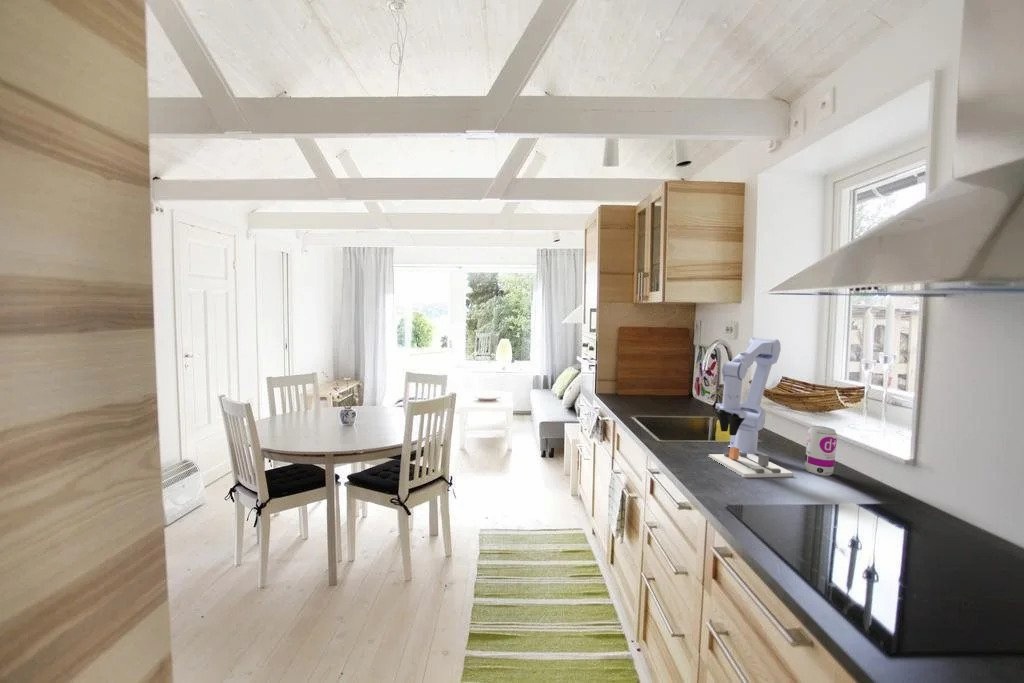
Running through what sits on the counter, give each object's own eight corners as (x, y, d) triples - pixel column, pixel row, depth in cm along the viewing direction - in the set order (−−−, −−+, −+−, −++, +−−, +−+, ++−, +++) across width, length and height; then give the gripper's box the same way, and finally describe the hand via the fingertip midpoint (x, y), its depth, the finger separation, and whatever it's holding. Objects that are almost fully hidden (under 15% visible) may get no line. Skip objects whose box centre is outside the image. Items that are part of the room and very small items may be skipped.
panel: (708, 457, 168) (708, 451, 167) (752, 457, 171) (753, 450, 171) (743, 477, 149) (744, 470, 149) (792, 476, 152) (793, 469, 152)
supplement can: (838, 477, 154) (843, 432, 153) (813, 475, 154) (818, 431, 153) (822, 468, 162) (827, 426, 161) (798, 467, 162) (803, 424, 161)
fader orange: (728, 457, 164) (729, 447, 164) (734, 457, 165) (734, 447, 164) (733, 459, 162) (734, 449, 162) (738, 459, 162) (739, 449, 162)
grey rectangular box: (757, 463, 158) (758, 453, 158) (763, 463, 159) (764, 453, 159) (762, 466, 156) (763, 455, 156) (768, 466, 157) (769, 455, 156)
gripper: (709, 391, 172) (706, 427, 173) (735, 399, 158) (731, 439, 159) (726, 391, 173) (723, 427, 174) (753, 399, 159) (749, 439, 160)
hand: (728, 433), depth 166 cm, fingers open, 4 cm apart
